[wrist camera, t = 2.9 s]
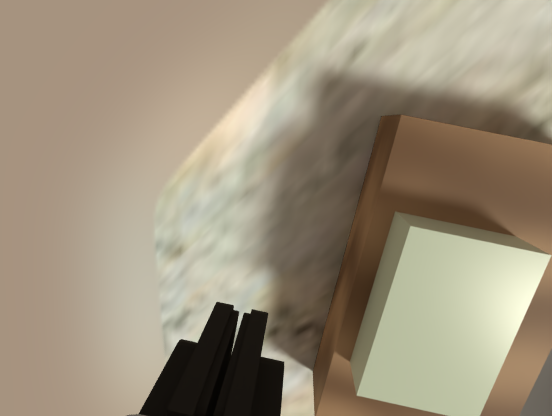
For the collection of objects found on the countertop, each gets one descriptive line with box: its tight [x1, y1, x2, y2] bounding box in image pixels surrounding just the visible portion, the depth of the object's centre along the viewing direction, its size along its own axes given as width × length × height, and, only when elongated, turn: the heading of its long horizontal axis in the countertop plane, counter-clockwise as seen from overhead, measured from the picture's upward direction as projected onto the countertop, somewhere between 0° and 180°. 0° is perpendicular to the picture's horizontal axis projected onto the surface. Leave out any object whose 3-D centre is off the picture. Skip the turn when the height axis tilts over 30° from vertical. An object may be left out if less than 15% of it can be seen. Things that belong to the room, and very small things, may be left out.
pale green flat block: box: [350, 211, 552, 416], centre depth 16 cm, size 9×6×2 cm, turn 169°
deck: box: [313, 115, 552, 416], centre depth 19 cm, size 18×11×4 cm, turn 169°
